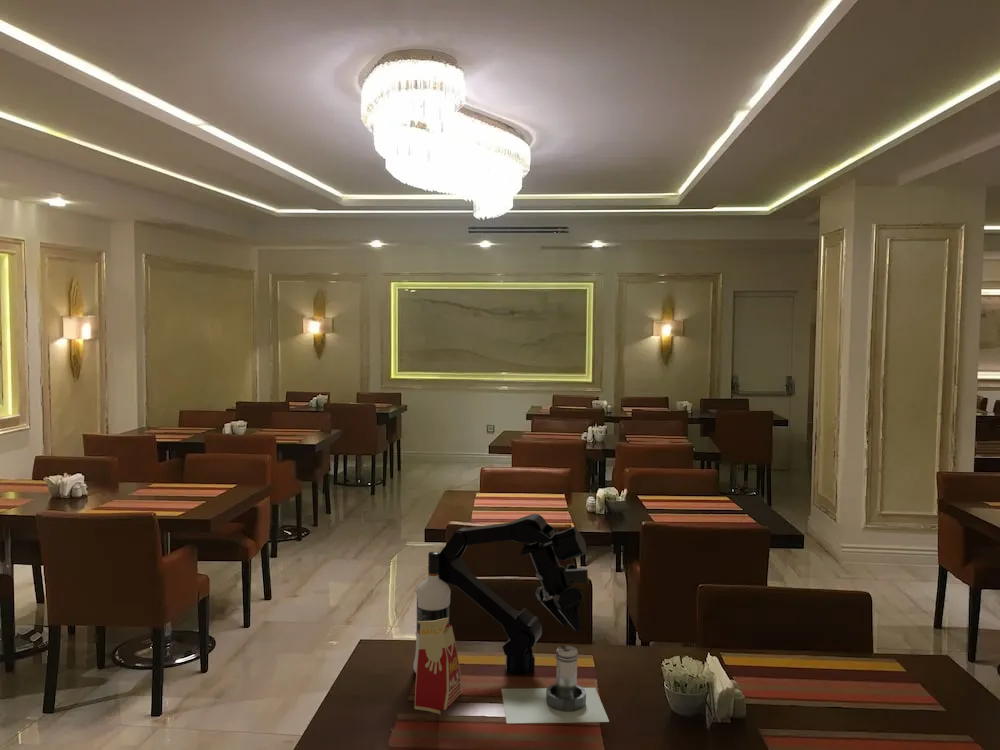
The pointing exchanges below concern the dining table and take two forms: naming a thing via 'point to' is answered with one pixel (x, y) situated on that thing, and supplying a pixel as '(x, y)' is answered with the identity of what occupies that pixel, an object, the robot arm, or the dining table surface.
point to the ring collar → (565, 700)
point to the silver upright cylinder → (566, 672)
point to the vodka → (431, 598)
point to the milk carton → (437, 667)
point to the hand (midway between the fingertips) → (571, 627)
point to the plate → (548, 708)
